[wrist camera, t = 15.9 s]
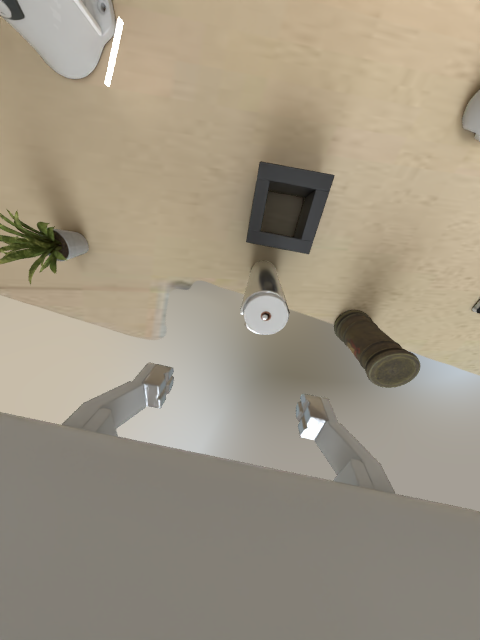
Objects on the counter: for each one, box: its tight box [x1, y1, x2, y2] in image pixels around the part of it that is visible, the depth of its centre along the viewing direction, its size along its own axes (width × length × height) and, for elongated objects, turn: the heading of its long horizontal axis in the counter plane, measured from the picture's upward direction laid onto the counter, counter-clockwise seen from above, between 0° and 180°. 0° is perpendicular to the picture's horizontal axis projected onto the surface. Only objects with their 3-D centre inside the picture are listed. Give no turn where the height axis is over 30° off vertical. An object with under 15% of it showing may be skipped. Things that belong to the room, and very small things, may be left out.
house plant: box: [0, 210, 88, 285], centre depth 39 cm, size 14×14×16 cm
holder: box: [246, 162, 334, 254], centre depth 36 cm, size 12×12×9 cm
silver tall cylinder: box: [241, 260, 290, 335], centre depth 34 cm, size 6×6×25 cm
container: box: [334, 310, 420, 388], centre depth 41 cm, size 9×9×18 cm
